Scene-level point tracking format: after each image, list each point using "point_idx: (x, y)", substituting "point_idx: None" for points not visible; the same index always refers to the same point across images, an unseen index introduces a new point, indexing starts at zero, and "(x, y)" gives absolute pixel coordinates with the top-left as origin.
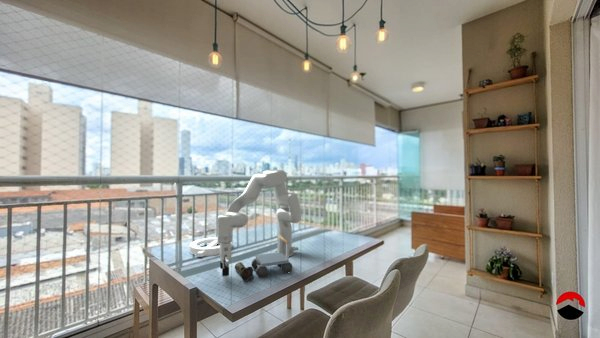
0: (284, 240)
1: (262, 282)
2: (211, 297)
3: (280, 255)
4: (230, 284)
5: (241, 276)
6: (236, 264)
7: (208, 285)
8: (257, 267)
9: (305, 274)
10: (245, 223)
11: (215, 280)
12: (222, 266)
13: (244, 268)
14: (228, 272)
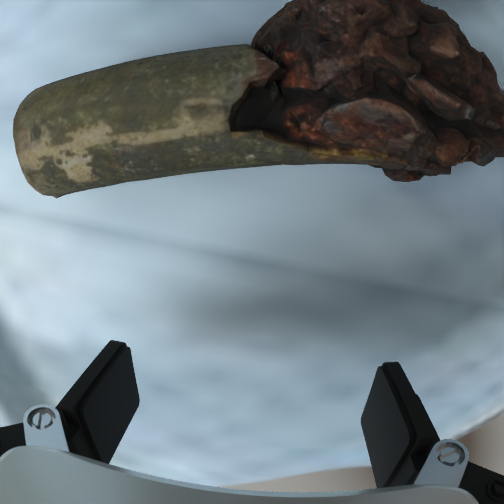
0: None
1: (495, 22)
2: (481, 421)
3: None
4: (417, 305)
5: (417, 179)
6: (41, 178)
7: (321, 447)
8: None
9: None
10: None
11: (254, 406)
12: (127, 402)
13: (276, 77)
14: (406, 388)
